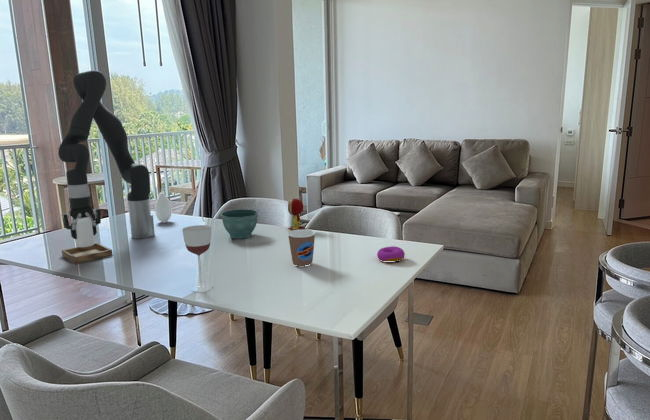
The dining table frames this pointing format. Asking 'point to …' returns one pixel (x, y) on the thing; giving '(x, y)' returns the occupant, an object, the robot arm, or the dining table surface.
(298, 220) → the figurine
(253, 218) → the teal green bowl
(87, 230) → the can
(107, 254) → the tray
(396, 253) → the donut
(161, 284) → the dining table surface
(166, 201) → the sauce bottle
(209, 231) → the wineglass
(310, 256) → the coffee cup
